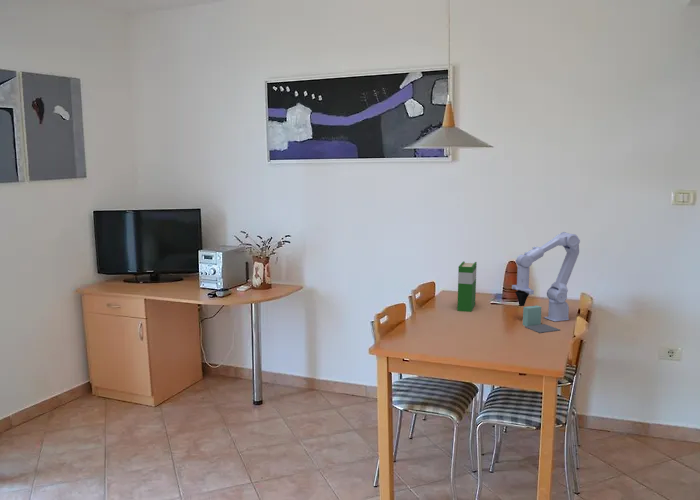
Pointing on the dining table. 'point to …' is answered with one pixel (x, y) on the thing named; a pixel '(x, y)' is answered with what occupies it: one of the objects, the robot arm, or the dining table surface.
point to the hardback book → (466, 286)
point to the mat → (542, 328)
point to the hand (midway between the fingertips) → (521, 305)
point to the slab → (531, 315)
